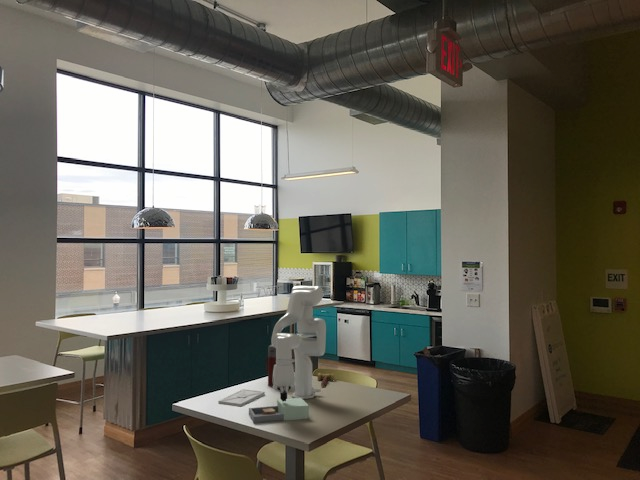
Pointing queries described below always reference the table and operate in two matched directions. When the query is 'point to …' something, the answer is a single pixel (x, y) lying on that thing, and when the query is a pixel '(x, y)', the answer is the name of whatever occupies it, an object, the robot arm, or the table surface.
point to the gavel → (325, 378)
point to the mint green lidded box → (293, 408)
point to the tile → (268, 411)
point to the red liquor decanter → (270, 363)
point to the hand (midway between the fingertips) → (283, 400)
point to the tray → (259, 418)
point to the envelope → (241, 397)
